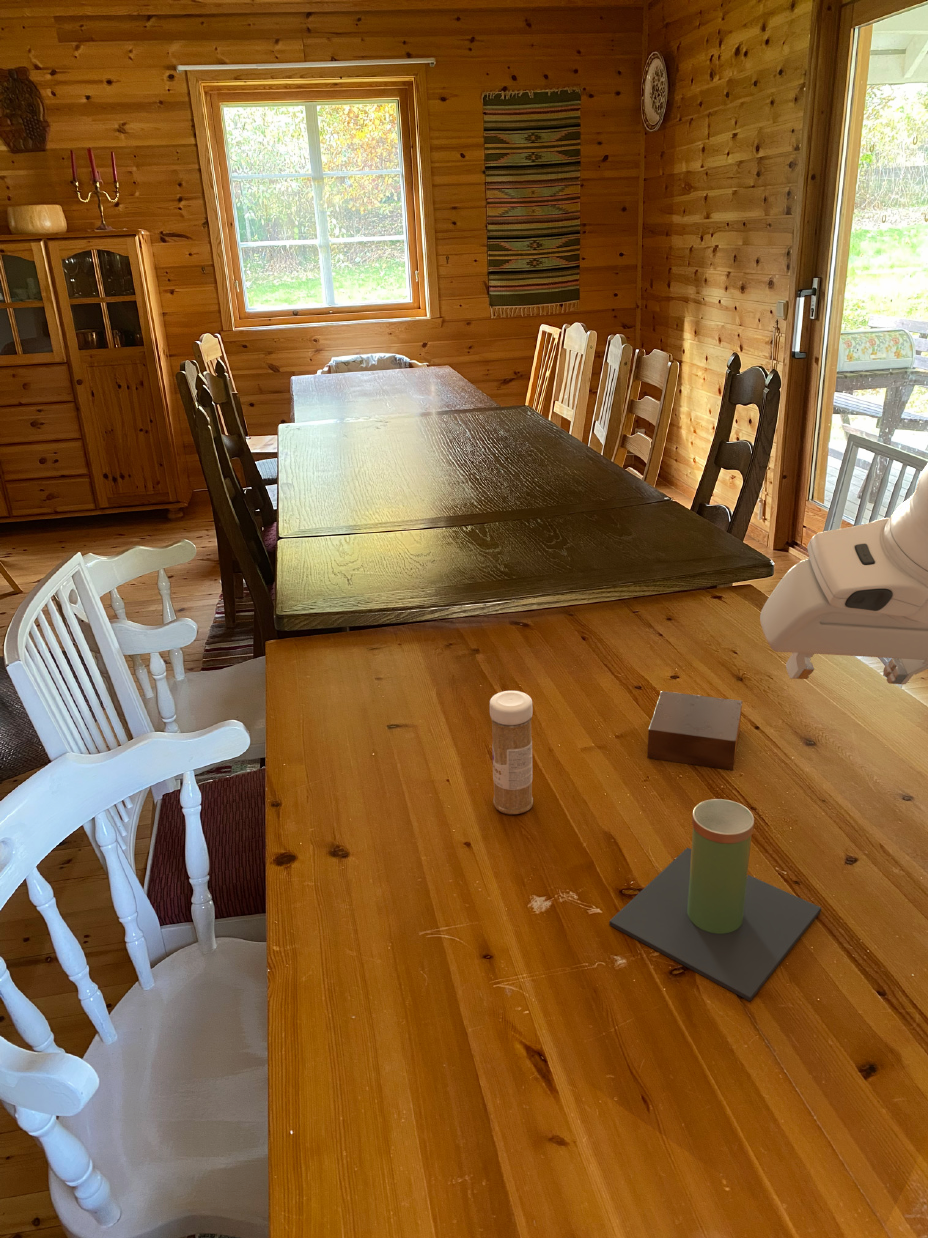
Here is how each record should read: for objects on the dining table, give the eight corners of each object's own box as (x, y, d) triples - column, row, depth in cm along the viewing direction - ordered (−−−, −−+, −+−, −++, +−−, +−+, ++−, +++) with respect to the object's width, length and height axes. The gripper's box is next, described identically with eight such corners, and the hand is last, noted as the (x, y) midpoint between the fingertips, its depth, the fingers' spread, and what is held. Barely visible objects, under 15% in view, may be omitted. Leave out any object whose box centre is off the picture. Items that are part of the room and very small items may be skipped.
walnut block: (739, 728, 115) (742, 700, 114) (733, 770, 107) (735, 741, 105) (659, 718, 119) (661, 690, 117) (647, 758, 110) (648, 729, 108)
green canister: (754, 912, 85) (764, 813, 80) (727, 943, 81) (736, 842, 77) (703, 888, 88) (711, 792, 83) (675, 917, 84) (681, 818, 80)
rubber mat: (821, 911, 85) (821, 907, 85) (750, 1002, 76) (750, 997, 75) (687, 851, 94) (687, 847, 94) (609, 925, 85) (609, 921, 84)
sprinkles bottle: (488, 797, 104) (484, 692, 99) (526, 789, 105) (524, 686, 100) (499, 820, 100) (496, 712, 95) (539, 812, 101) (538, 705, 96)
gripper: (1027, 550, 75) (936, 654, 85) (794, 531, 72) (729, 642, 82) (1063, 608, 71) (964, 710, 81) (819, 591, 68) (747, 699, 78)
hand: (844, 675), depth 82 cm, fingers open, 8 cm apart
